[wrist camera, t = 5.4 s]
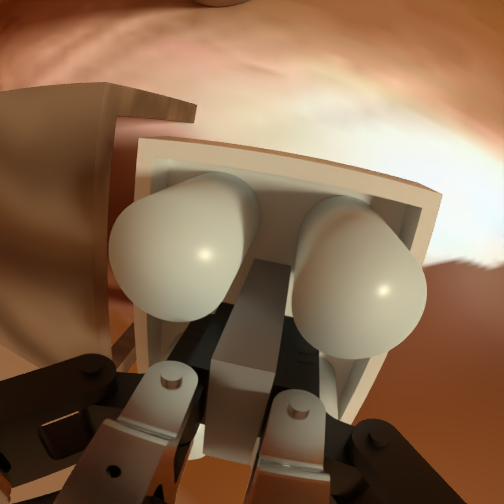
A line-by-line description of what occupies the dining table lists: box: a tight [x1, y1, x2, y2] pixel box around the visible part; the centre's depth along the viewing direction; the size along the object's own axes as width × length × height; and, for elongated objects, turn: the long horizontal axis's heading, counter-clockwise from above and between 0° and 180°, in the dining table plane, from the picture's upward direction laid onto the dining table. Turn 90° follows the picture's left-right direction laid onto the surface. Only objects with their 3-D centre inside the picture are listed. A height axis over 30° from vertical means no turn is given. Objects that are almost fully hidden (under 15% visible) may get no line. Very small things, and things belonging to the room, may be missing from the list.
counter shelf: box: [0, 82, 197, 373], centre depth 23 cm, size 20×14×14 cm
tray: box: [109, 136, 443, 468], centre depth 11 cm, size 12×10×7 cm
